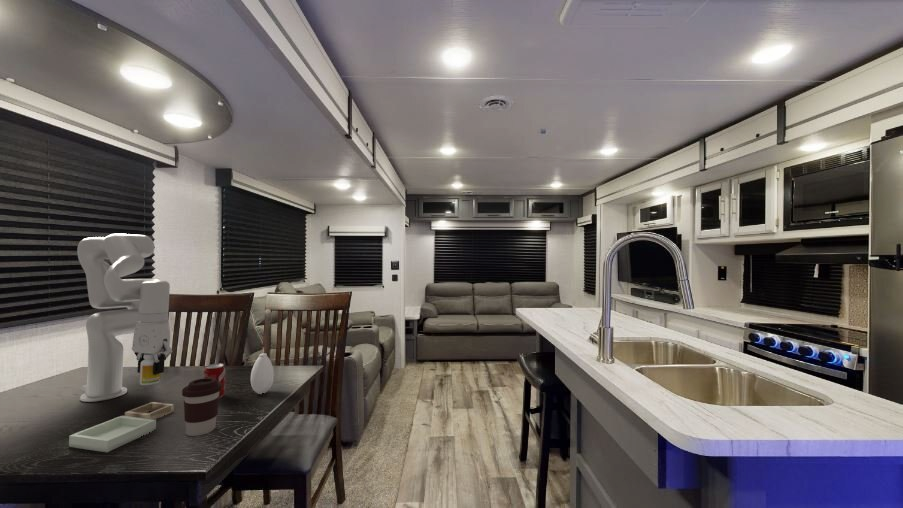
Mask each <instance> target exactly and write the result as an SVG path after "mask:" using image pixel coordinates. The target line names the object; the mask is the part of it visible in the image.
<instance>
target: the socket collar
mask: <svg viewBox="0 0 903 508" xmlns="http://www.w3.org/2000/svg"><path fill="white" fill-rule="evenodd" d="M174 406H175V404H174V403H173V404H172V403H164V402H155V401H151V402H149V403H146V404H143V405H140V406H138V407H135V408H132V409H129V410H128V411H125V412H124V416H128V417H136V418H144V419H152V420H154V419H155V420H158V419H159V417H160V418H162V417H165V416H167V415H169V414H171V413H174V409H175V407H174ZM149 411H150V412H149ZM164 415H165V416H164ZM157 418H158V419H157Z"/></svg>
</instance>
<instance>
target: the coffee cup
mask: <svg viewBox="0 0 903 508" xmlns="http://www.w3.org/2000/svg"><path fill="white" fill-rule="evenodd" d="M221 389H222V383H220V382H217V380H216V379H214V378H204V377H203V378H198V379H194V380H192V381H190V382H189V383H188V385H187V386H185V387H183V388H182V390H181V395H182V396H183V397H184V400H183V412H184V414H183V415H184V417H183V418H184V422H185V434H186V435H187V436H188V437H200V436H203V435H207V434H209V433H211V432H212V431H214V430H215V429H216V426H217V425H216V423H217V417H218V416H217V415H218V413H219V406H220V405H219V403H220V398H219V397H220V395H219V391H220V390H221Z"/></svg>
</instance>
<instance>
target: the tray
mask: <svg viewBox="0 0 903 508" xmlns="http://www.w3.org/2000/svg"><path fill="white" fill-rule="evenodd" d="M154 430H155V431H156V430H157V419H155V420H152V419H144V418H136V417H128V416H125V415H120V416H117V417H114V418H113V419H109V420H107V421H104V422H102V423H99V424H96V425H94V426H91V427H89V428H86V429H83V430H81V431H77V432H75V433H73V434H71V435H69V436H68V438H69V439H68V447H69V448H75V449H80V450H81V449H83V450H89V451H95V452H103V453H109V452H112V451H114V450H115V449H118V448H119V447H121V446H124V445H126V444H128V443H131V442H133V441H135V440H136V439H139V438H141V436H142V437H143V435H144V436H146V435H148V434H150V433H153V432H155V431H154ZM152 431H153V432H152ZM149 432H150V433H149Z"/></svg>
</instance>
